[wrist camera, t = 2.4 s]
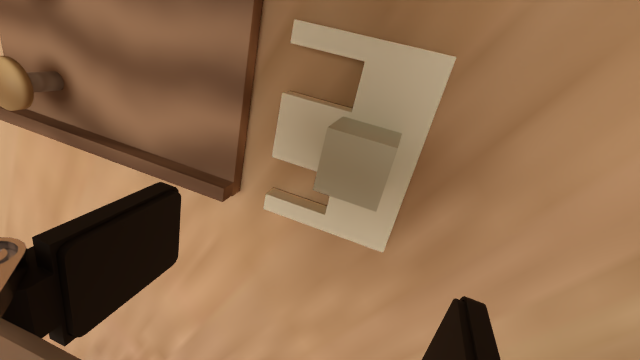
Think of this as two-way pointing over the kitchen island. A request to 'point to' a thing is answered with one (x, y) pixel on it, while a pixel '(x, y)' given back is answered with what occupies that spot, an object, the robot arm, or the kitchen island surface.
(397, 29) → the kitchen island surface
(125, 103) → the board
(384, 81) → the panel
